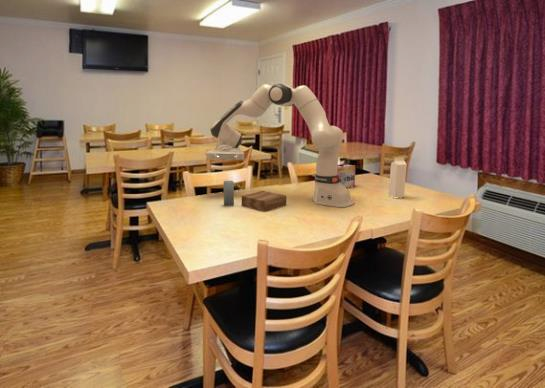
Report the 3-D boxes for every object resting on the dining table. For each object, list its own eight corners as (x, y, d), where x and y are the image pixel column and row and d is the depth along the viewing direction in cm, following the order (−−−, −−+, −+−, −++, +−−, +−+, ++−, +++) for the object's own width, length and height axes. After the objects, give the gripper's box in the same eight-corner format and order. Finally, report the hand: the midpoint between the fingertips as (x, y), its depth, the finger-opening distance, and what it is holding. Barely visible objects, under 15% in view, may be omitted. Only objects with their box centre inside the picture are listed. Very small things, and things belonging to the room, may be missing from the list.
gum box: (347, 184, 248) (348, 163, 245) (356, 186, 242) (357, 165, 239) (318, 188, 236) (319, 166, 232) (327, 191, 229) (328, 168, 226)
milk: (403, 198, 214) (407, 158, 209) (394, 198, 212) (397, 158, 207) (397, 195, 220) (401, 156, 214) (388, 196, 218) (391, 157, 213)
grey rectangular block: (236, 204, 198) (235, 181, 195) (228, 206, 194) (228, 183, 191) (229, 203, 201) (228, 180, 198) (221, 205, 197) (221, 181, 194)
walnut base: (286, 205, 198) (286, 195, 197) (265, 211, 186) (265, 201, 185) (262, 199, 208) (262, 190, 207) (241, 205, 196) (241, 196, 195)
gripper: (205, 146, 213) (206, 151, 200) (242, 147, 217) (246, 152, 204) (205, 158, 215) (206, 163, 202) (242, 158, 219) (245, 164, 206)
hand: (226, 158), depth 203 cm, fingers open, 8 cm apart
